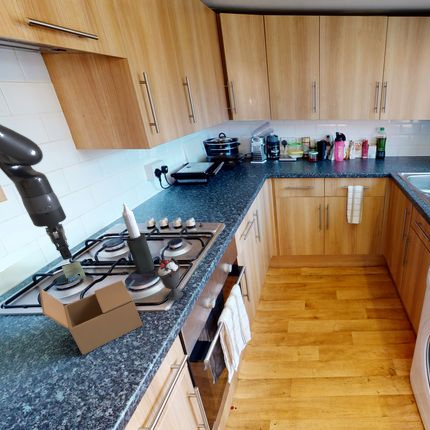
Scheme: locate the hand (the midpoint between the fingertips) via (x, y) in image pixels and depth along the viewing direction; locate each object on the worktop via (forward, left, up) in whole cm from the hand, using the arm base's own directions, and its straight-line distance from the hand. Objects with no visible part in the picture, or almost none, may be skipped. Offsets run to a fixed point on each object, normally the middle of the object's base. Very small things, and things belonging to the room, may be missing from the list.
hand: (66, 253), depth 92 cm
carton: (+3, -34, -10) cm, 35 cm away
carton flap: (-5, -34, +3) cm, 34 cm away
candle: (+18, -12, -10) cm, 23 cm away
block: (0, 0, -10) cm, 10 cm away
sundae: (+20, -34, -10) cm, 40 cm away
